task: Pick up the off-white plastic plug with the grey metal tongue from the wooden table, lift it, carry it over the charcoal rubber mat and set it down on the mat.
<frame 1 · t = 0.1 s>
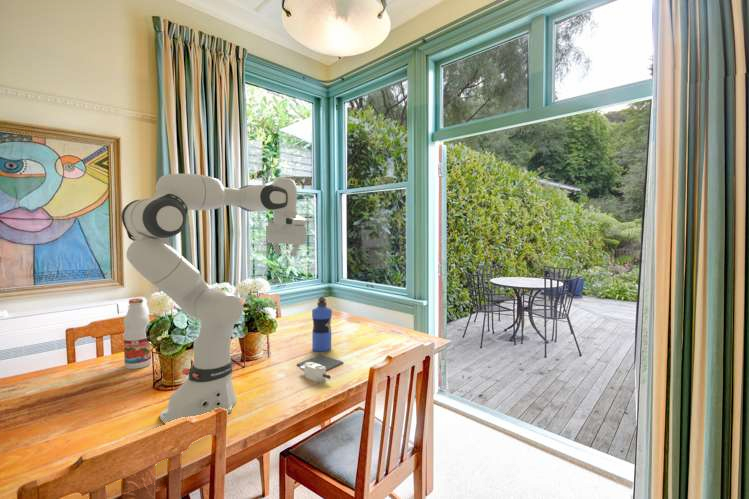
hand: (285, 255, 141), 48 cm above the table, fingers open, 8 cm apart
mat: (320, 364, 155), on the table
plug: (314, 378, 141), on the table
fruit juice: (138, 365, 151), on the table
water bottle: (321, 349, 174), on the table
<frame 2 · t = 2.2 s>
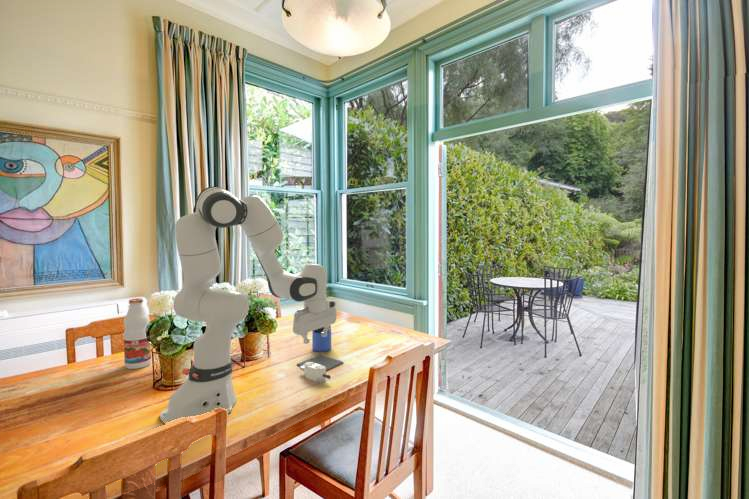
hand: (315, 339, 140), 15 cm above the table, fingers open, 8 cm apart
nothing on the table moved.
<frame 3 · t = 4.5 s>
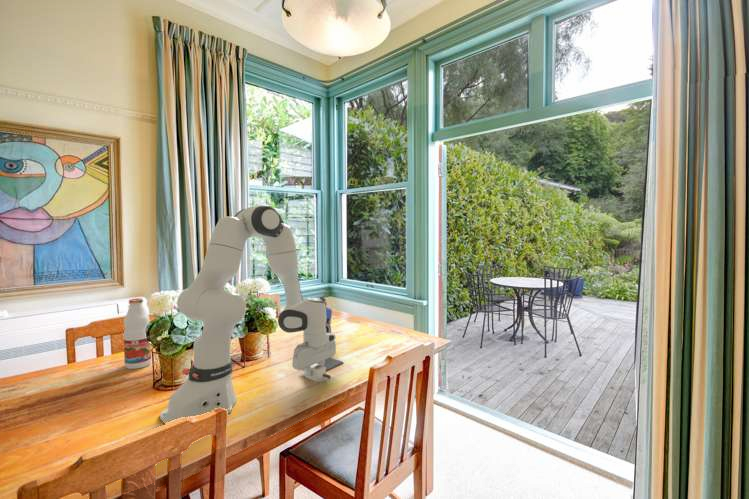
hand: (314, 373, 141), 2 cm above the table, fingers closed on plug, 4 cm apart
plug: (314, 378, 141), on the table, touching gripper
everything else where it was.
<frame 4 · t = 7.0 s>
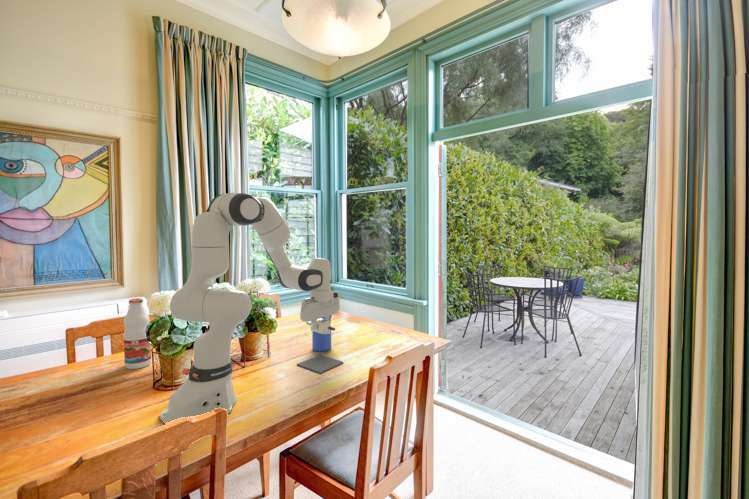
hand: (320, 327, 154), 16 cm above the table, fingers closed on plug, 4 cm apart
plug: (320, 331, 154), point 14 cm above the table, touching gripper
everything else where it was.
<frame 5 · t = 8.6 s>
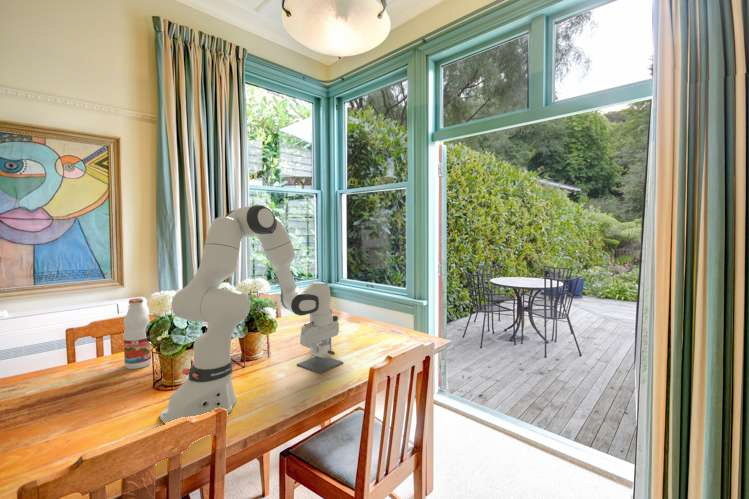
hand: (320, 350, 155), 6 cm above the table, fingers closed on plug, 4 cm apart
plug: (320, 354, 155), point 4 cm above the table, touching gripper
everything else where it was.
when the fingers open (3 cm above the table, at t = 9.9 s): plug stays where it is, resting on mat.
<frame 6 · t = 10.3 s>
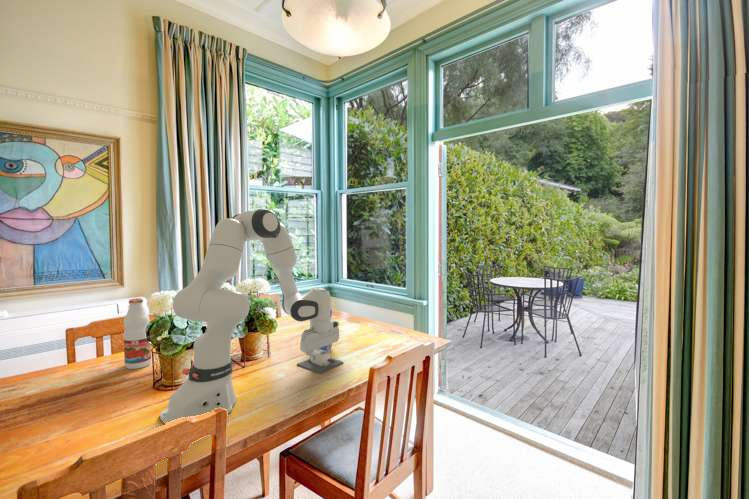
hand: (320, 356, 155), 3 cm above the table, fingers open, 8 cm apart
plug: (320, 362, 155), point 1 cm above the table, touching mat
everything else where it was.
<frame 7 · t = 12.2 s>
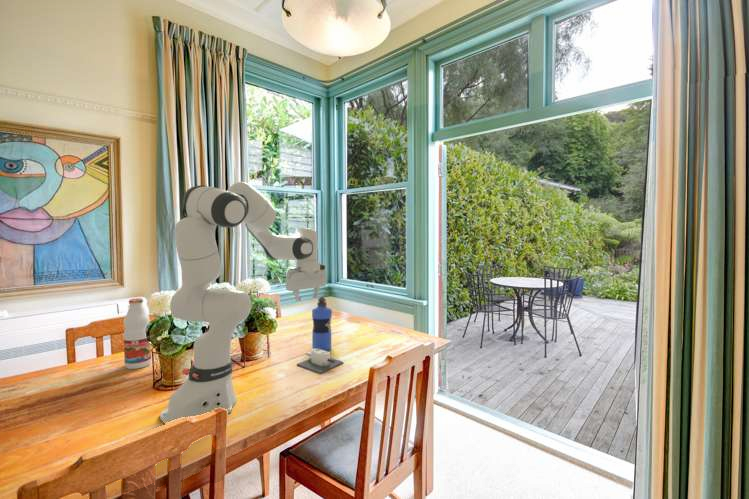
hand: (306, 299, 152), 28 cm above the table, fingers open, 8 cm apart
nothing on the table moved.
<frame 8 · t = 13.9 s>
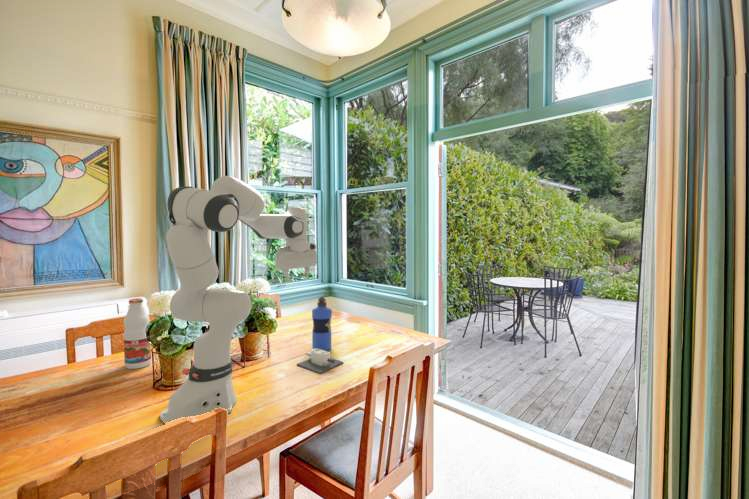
hand: (296, 278, 152), 37 cm above the table, fingers open, 8 cm apart
nothing on the table moved.
at the end: plug inside the target area on the mat (0.1 cm from its centre), point 0.6 cm above the mat's base; the gripper is holding nothing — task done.
